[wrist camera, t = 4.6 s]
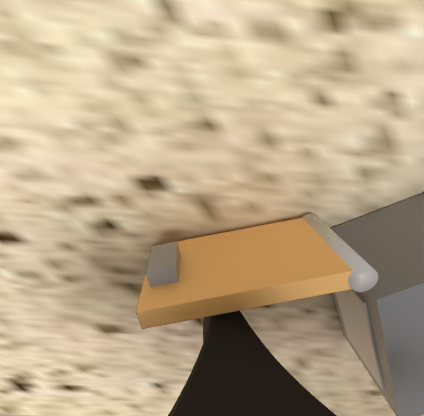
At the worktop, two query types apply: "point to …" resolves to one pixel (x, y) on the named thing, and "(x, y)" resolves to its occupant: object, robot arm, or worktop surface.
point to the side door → (248, 271)
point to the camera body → (389, 302)
